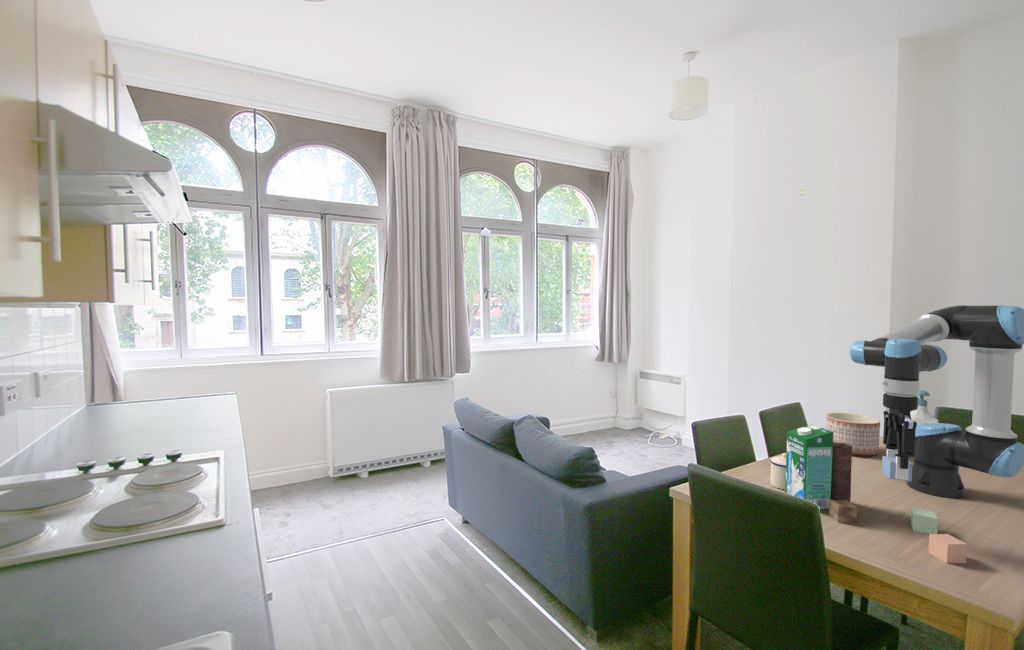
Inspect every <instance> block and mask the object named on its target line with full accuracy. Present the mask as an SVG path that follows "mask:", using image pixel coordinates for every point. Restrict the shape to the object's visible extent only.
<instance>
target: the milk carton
mask: <svg viewBox="0 0 1024 650" xmlns="http://www.w3.org/2000/svg"><path fill="white" fill-rule="evenodd" d="M786 454H787V455H786V484H785V490H784V491H785V492H784V494H785V493H787V494H790V495H792V496H795V497H799V498H802V499H805V500H807V501H810V502H812V503H815V504H817V505H818V506H819V507H820V509H819V510H829V500H830V499H831V482H832V456H833V432H832V431H829V430H826V428H823V427H821V426H818V425H815V424H809V425H805V426H801V427H799V428H796V429H795V428H794V429H792V430H788V431H787V432H786Z"/></svg>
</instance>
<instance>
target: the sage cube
mask: <svg viewBox="0 0 1024 650" xmlns="http://www.w3.org/2000/svg"><path fill="white" fill-rule="evenodd" d="M910 513H911V514H910V525H911V529H912V530H913V532H915V533H916V532H917V533H921V534H927V535H929V534H938V522H939V518H938V517H937V515H936V512H935V511H930V510H925V509H921V508H920V509H919V508H915V507H911V511H910Z"/></svg>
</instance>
